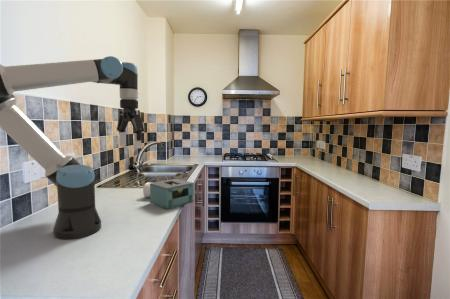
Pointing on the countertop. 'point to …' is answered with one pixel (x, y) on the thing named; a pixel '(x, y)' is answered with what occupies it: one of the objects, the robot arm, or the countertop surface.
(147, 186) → the mug
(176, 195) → the gold block
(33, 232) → the countertop surface
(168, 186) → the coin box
